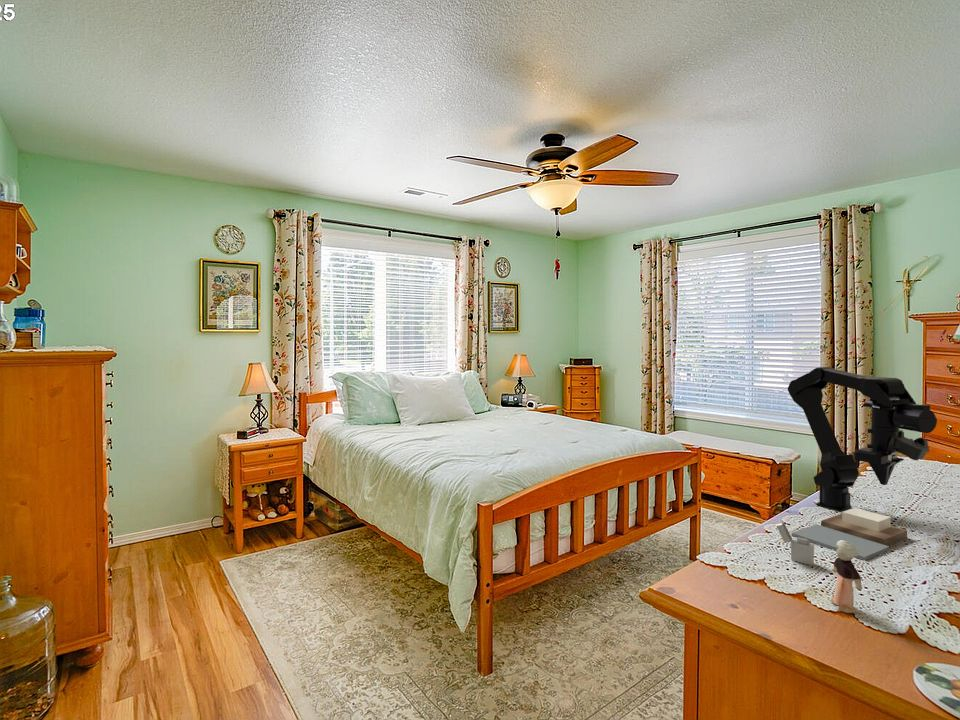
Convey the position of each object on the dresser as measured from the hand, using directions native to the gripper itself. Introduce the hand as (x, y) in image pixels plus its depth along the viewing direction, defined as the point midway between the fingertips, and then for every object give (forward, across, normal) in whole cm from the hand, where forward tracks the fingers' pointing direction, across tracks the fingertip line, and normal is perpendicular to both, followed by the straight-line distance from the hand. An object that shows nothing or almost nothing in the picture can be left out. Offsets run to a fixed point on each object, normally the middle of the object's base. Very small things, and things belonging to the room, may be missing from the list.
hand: (883, 484), depth 130 cm
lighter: (+11, -40, 0) cm, 42 cm away
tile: (+9, -9, 0) cm, 13 cm away
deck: (+11, -11, 0) cm, 15 cm away
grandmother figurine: (+11, -52, -16) cm, 56 cm away
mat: (+11, -22, 0) cm, 24 cm away
